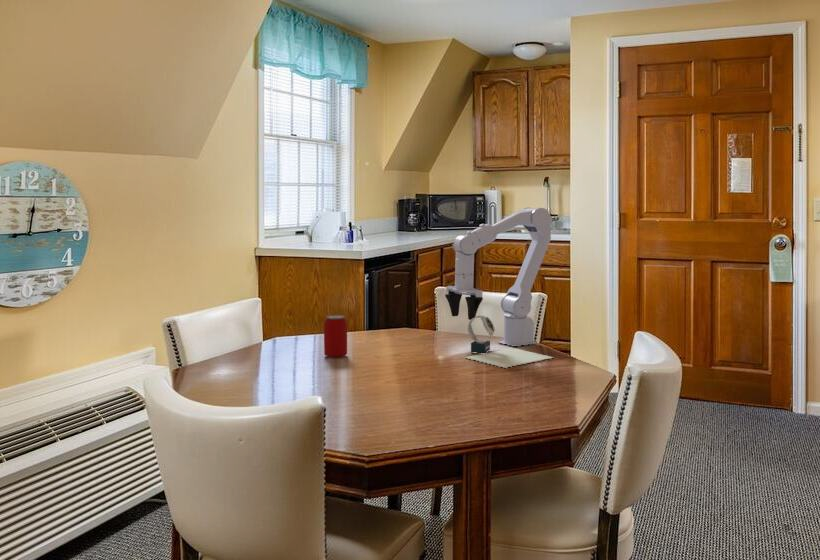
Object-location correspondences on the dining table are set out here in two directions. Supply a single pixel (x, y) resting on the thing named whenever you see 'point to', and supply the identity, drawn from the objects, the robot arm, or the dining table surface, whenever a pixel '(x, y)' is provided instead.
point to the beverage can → (335, 336)
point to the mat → (508, 357)
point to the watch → (481, 345)
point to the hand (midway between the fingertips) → (463, 317)
